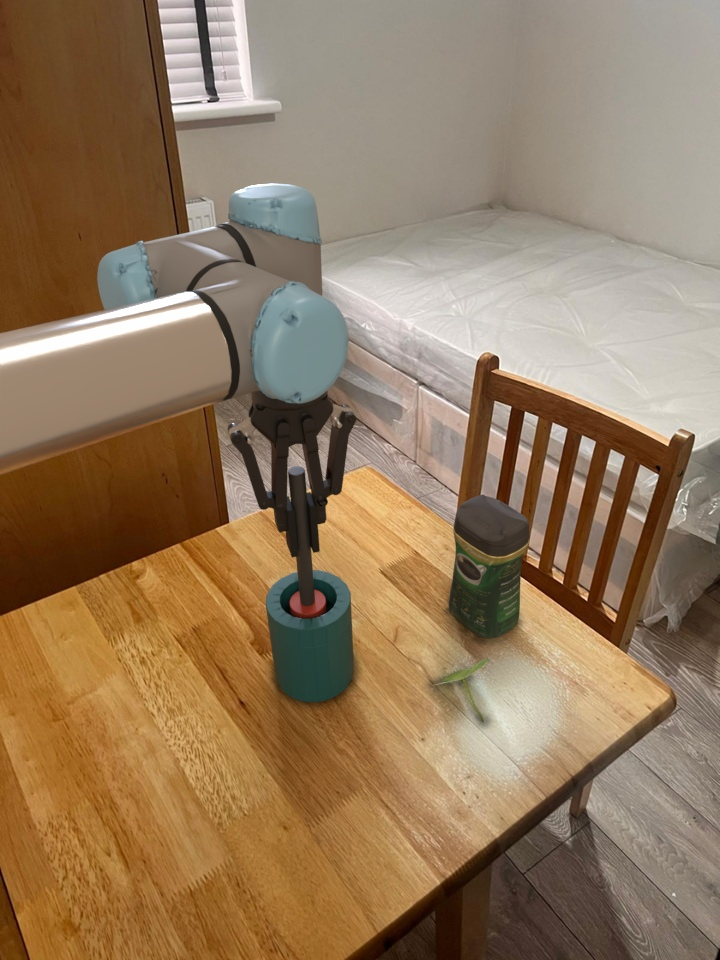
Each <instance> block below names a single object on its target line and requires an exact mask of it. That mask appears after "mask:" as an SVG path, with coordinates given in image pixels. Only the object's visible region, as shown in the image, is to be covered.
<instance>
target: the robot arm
mask: <svg viewBox="0 0 720 960" xmlns="http://www.w3.org/2000/svg"><path fill="white" fill-rule="evenodd" d="M227 218H228V220H229V221H227V222H223V223H219V224H217V225H214V226H211V227H205V228H202V229H198V230H197V229H196V230H194V231H193V230H192V231H189V232H184V233H179V234H175V235H171V236H166V237H161V238H157V239H153V240H149V241H143V240H139V241H137V242H136V243H134V244H132V245H129V246H126V247H125V246H124V247H122V248H119V249H115V250H113V251H110V252H108V253H106V254H105V255H104V256H103V257H102V258H101V260H100V261H99V264H98V267H97V275H96V277H97V279H96V280H97V288H98V292H99V297H100V300H101V304H102V307H103V310H98V311H93V312H89V313H84V314H81V315H77V316H71V317H67V318H63V319H58V320H53V321H50V322H49V321H48V322H45V323H40V324H35V325H32V326H31V325H30V326H27V327H22V328H18V329H13V330H9V331H5V332H0V476H2V475H5V474H8V473H11V472H14V471H18V470H20V469H23V468H27V467H29V466H32V465H36V464H39V463H41V462H44V461H47V460H50V459H53V458H56V457H59V456H62V455H65V454H68V453H71V452H74V451H77V450H80V449H83V448H87V447H89V446H92V445H95V444H98V443H101V442H104V441H107V440H110V439H113V438H117V437H119V436H122V435H125V434H128V433H131V432H134V431H137V430H140V429H143V428H147V427H149V426H152V425H156V424H158V423H162V422H164V421H167V420H170V419H173V418H176V417H180V416H182V415H185V414H189V413H191V412H194V411H198V410H201V409H203V408H206V407H209V406H212V405H215V404H219V403H222V402H225V401H228V400H232V399H236V398H238V397H242V396H244V395H248V394H251V406H250V408H249V411H248V417H247V418H245V419H243V421H241V422H239V423H236V422H232V423H230V424H228V425H227V432H228V436H229V439H230V442H231V444H232V445H233V446H234V447H235V448H236V449H237V451H238V452H239V453H240V454H241V456H242V459H243V463H244V466H245V469H246V471H247V474H248V479H249V481H250V484H251V487H252V490H253V493H254V497H255V501H256V502H257V505H258V508H259V509H260V510H262V511H266V510H268V509H272V510H273V517H274V523H275V527H276V529H277V531H278V532H279V533H285V541H286V545H287V549H288V551H289V553H290V557H291V558H293V559H294V558H296V557H297V556H298V547H297V536H296V525H295V514H294V508H293V506H292V504H291V498H290V495H288V467H289V466H288V462H289V460H288V459H289V456H290V447H292V446H295V445H301V447H302V451H303V458H304V463H305V468H306V469H305V470H306V474H307V480H308V484H309V485H308V486H309V489H310V491H307V503H308V516H309V529H310V541H311V552H312V553H313V554H315V553H320V552H321V550H320V549H321V548H320V535H319V525H322V524H326V521H327V508H326V507H327V505H328V504H329V500H328V498H329V497H330V496H338V495H340V494H341V493H342V492H343V484H344V477H345V468H346V461H347V453H348V445H349V438H350V437H349V436H350V434H351V432H352V430H353V428H354V426H355V424H356V422H357V417H356V415H355V413H354V411H353V410H352V409H351V406H349V404H347V403H343V404H341V405H337V404H334V403H333V402H332V401H333V400H331V398H330V397H329V391H328V390H329V389H331V388H332V386H333V385H334V384H335V383H336V381H337V380H338V378H339V377H340V375H341V374H342V371H343V370H344V368H345V365H346V362H347V357H348V355H349V354H348V353H349V342H350V339H349V328H348V324H347V321H346V318H345V316H344V315H343V313H342V311H341V310H340V309H339V307H338V306H337V305H336V304H335V303H334V302H332V300H330V299H329V298H326V297H324V295H323V274H322V270H323V269H322V247H321V245H322V244H323V243H322V242H323V241H322V237H321V232H320V224H319V214H318V208H317V203H316V199H315V197H314V196H313V194H312V193H311V192H310V191H309V190H308V189H306V188H304V187H301V186H298V185H294V184H288V183H263V184H255V185H250V186H246V187H243V188H241V189H239V190H236V191H234V192H233V193H232V194H231V195H230V196H229V199H228V213H227ZM328 420H329V421H330V423H331V426H330V433H329V442H328V452H327V462H326V469H325V470H326V471H325V479H324V476H323V471H322V466H321V459H320V453H319V442H318V436H319V434H320V433H321V431H322V429H323V428H324V426H325V425H326V423H327V422H328ZM255 430H256V431H258V432H259V433H260V434H261V435H262V436H263V437H265V438H266V439H267V440H268V441H269V443H270V453H271V454H270V456H271V457H270V458H271V459H270V460H271V461H270V462H271V463H270V469H271V470H270V471H271V472H270V473H271V474H270V475H271V478H270V480H271V481H270V483H271V484H270V485H271V486H270V491H269V490H266V486H265V483H264V480H263V477H262V473H261V470H260V467H259V463H258V461H257V457H256V453H255V451H254V449H253V445H252V444H253V442H254V441H255V435H254V431H255Z"/></svg>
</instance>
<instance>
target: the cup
mask: <svg viewBox="0 0 720 960" xmlns="http://www.w3.org/2000/svg"><path fill="white" fill-rule="evenodd" d="M313 580H314V589H315V590H318V591H320V592H321V593H322V594H323V595H324V596H325V598H326V609H327V613H326V614H324V615H322V616H320V617H317V618H312V619H300V618H296V617H293V616H291V613H290V599H291V597H292V596H293V595H294V594H295V593H296V592H298V591H299V583H298V573H297V571H294V572H290V573H289V574H287V575H285V576H283V577H280V578H279V579H278V580H277V581H276V582H274V583H273V584H272V586H271V587H270V589H269V590H268V592H267V594H266V598H265V612H266V619H267V626H268V631H269V632H268V633H269V641H270V647H271V648H270V649H271V654H272V655H271V656H272V661H273V662H272V663H273V669H274V674H275V679H276V683H277V685H278V687H279V688H280V689H281V691H282V692H283V693H284V694H285V695H287V696H288V697H290V698H292V699H294V700H296V701H300V702H304V703H321V702H325V701H327V700H331V699H333V698H335V697H336V696H338V695H340V694H342V692H344V691H345V690H346V689H347V687H348V686H349V685H350V683H351V681H352V679H353V677H354V672H355V669H354V668H355V667H354V666H355V665H354V663H355V662H354V640H353V639H354V638H353V637H354V636H353V615H352V595H351V591H350V588H349V586H348V585H347V583H346V582H345V581H344V580H342V578H341V577H340V576H337V575H335V574H334V573H331V572H329V571H325V570H321V569H313Z"/></svg>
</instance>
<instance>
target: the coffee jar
mask: <svg viewBox="0 0 720 960" xmlns="http://www.w3.org/2000/svg"><path fill="white" fill-rule="evenodd" d="M454 517H455V518H454V522H453V527H452V532H453V539H454V543H455V544H454V545H455V555H454V563H453V571H452V572H453V573H452V579H451V585H450V590H449V598H448V610H449V612H450V613H451V614H452V616H453V618H455V619H456V620H457V621H458V622H459V623H460V624H461V625H463V626H464V627H465V628H467V630H469V631H470V632H472V633H473V634H475V635H476V636H478V637H481V638H483V639H495V638H499V637H502V636H503V635H505V634H508V632H510V631H512V630H513V629H514V628H515V627H516V626H517V624H518V623H519V620H520V619H519V618H520V610H521V609H520V608H521V579H522V564H523V563H522V562H523V556H524V554H525V553H526V551H527V549H528V547H529V544H530V521H529V519H528V517H526V516H525V515H524V514H522V513H521V512H519V511H517V510H516V509H515V508H513V507H511V506H510V505H508V504H506V503H505V502H503V501H502V500H500V499H498V498H495V497H492V496H488V495H485V494H483V493H481V494H479V495H476V496H474V497H472V498H469V499H468V500H466V501H464V502H462V503H461V504H460V505H459V507H458V509H457V510H456V513H455V516H454Z"/></svg>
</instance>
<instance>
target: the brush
mask: <svg viewBox="0 0 720 960" xmlns="http://www.w3.org/2000/svg"><path fill="white" fill-rule="evenodd" d="M287 478H288V488H289V498H290V501H291V504H292V506H293V508H294V514H295V525H296V536H297V547H298V556H297V557H295V560H296V561H295V562H296V572H297V573H298V583H299V591H298V592H296V593H295V594H294V595H293V596H292V597H291V599H290V613H291V616H293V617H296V618H300V619H312V618H317V617H320V616H322V615H324V614H326V613H327V609H326V598H325V596H324V595H323V594H322V593H321V592H320V591H318V590H315V589H314V580H313V570H314V568H313V558H312V557H313V556H312V548H311V541H310V529H309V516H308V503H307V492H308V491H307V479H306V469H305V468H304V467H302V466H298V465H297V466H296V465H295V466H292V467H289V469H287Z"/></svg>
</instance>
